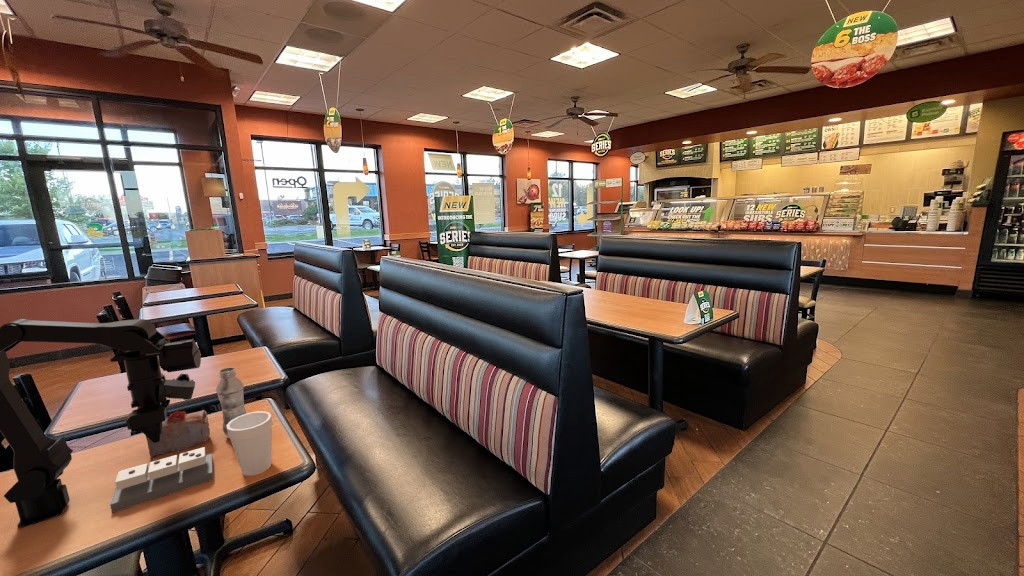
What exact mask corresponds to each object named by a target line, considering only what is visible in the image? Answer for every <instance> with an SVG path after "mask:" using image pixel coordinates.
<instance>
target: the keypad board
mask: <svg viewBox="0 0 1024 576" xmlns="http://www.w3.org/2000/svg"><path fill="white" fill-rule="evenodd" d="M211 481H214V458H213V453H208V454H206V464H203V465H199V466H196V467H193V468H189V469H186V470H183V471H180V469H179V464H178V470H177V472H176V473H173V474H170V475H166V476H163V477H160V478H156V479H153V480H150V481H149V476H148V478H147V481H146V482H143V483H140V484H136V485H133V486H130V487H127V488H123V489H120V490H117V488H116V487H115V489H114V492H113V495H112V498H111V501H110V504H109V505H110V509H111V513H112V514H114V513H116V512H119V511H123V510H125V509H128V508H130V507H131V508H132V507H134V506H137V505H140V504H143V503H146V502H149V501H153V500H155V499H158V498H161V497H165V496H168V495H171V494H174V493H178V492H181V491H183V490H186V489H190V488H193V487H196V486H199V485H201V484H202V485H203V484H205V483H209V482H211Z"/></svg>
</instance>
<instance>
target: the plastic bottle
mask: <svg viewBox="0 0 1024 576" xmlns="http://www.w3.org/2000/svg"><path fill="white" fill-rule="evenodd" d="M236 375H237V373H236V368H235V367H226V368H222V369H219V378H220V381H219V382H218V384H217V386H216V389H215V392H216V394H217V397H218V400H219V403H220V407H221V411H222V431H223V434H224V436H226V437H227V438H229V436H228V432H227V426H226V425H227V424H228V423H229V422H230V421H231V420H233V419H235V418H236V417H238V416H241V415H244V414H247V411H246V407H245V399H244V398H245V397H244V388H245V387H244V383H243V382H242V380H240V378H238V377H237V376H236Z"/></svg>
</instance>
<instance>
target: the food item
mask: <svg viewBox="0 0 1024 576" xmlns="http://www.w3.org/2000/svg"><path fill="white" fill-rule="evenodd" d="M210 435H211V429H210V423H209V418H208V416H207V411H206V410H205V409H203V410H199V411H195V412H190V413H186V411H184V410H181V411H179V410H177V411H175V412H172V413H171V414H169V417H168V418H167V417H166V420H165V421H163V422H162V433H161V434H160V441H159V442H156V443H153V442H152V441H151V440H150V439H149V438H148V437H147V436H146V435H145V437H146V442H147V446H148V447H147V448H148V450H149V451H148V453H149V457H150V458H152V457H156V456H158V455H159V456H160V455H163V454H167V453H170V452H175V453H178V451H179V452H181V451H183V450H186V449H187V448H191V447H194V446H197V444H198V445H200V444H204V443H205V442H207V441H208V439H209V437H210Z"/></svg>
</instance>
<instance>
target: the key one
mask: <svg viewBox="0 0 1024 576" xmlns="http://www.w3.org/2000/svg"><path fill="white" fill-rule="evenodd" d="M148 470H149V464H148V462H147V463H144V464H140V465H136V466H135V465H134V466H133V467H130V468H125V469H122V470H119V471H118V473H117V476H116V479H115V482H114V483H115V489H116V488H117V490H120V489H123V488H127V487H130V486H133V485H136V484H140V483H143V482H146V481H147V478H148Z"/></svg>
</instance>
